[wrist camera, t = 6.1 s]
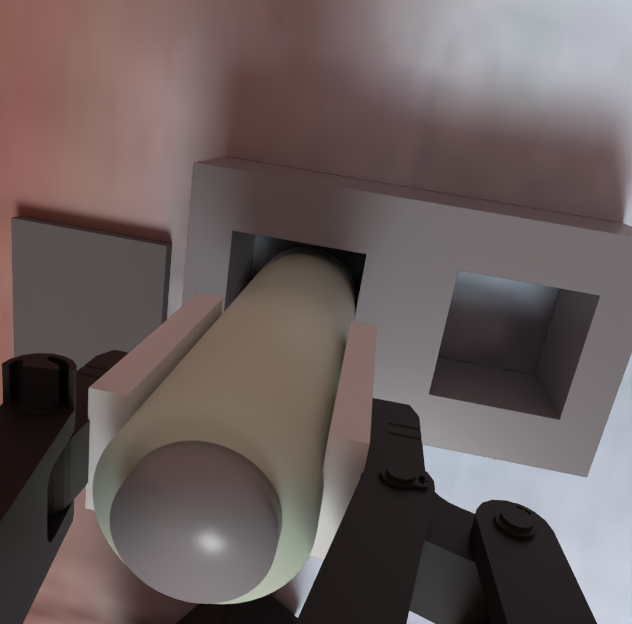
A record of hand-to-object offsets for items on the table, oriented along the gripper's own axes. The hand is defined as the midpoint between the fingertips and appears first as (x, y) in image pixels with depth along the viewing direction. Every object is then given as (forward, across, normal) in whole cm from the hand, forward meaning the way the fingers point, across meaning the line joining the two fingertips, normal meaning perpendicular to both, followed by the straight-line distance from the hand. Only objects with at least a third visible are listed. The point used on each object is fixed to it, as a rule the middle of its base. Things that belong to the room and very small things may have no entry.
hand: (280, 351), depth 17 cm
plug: (+6, 0, 0) cm, 6 cm away
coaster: (+8, -10, -3) cm, 13 cm away
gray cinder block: (+8, +4, 0) cm, 9 cm away
